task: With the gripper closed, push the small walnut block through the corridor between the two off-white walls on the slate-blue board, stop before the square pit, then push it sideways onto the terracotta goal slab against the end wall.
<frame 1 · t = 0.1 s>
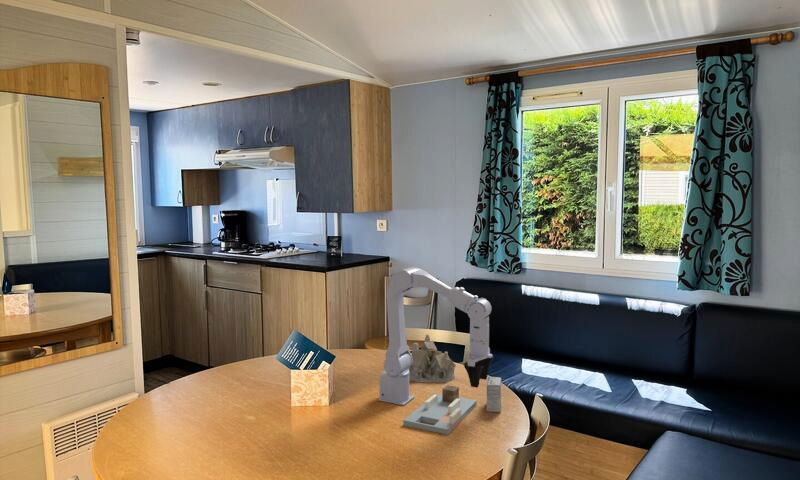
hand: (478, 382, 170), 10 cm above the table, tool pointing down, fingers open, 7 cm apart
deck: (441, 414, 171), on the table
block: (450, 400, 178), point 2 cm above the table, touching deck
medicine box: (494, 408, 177), on the table
ceramic cottage: (429, 377, 205), on the table
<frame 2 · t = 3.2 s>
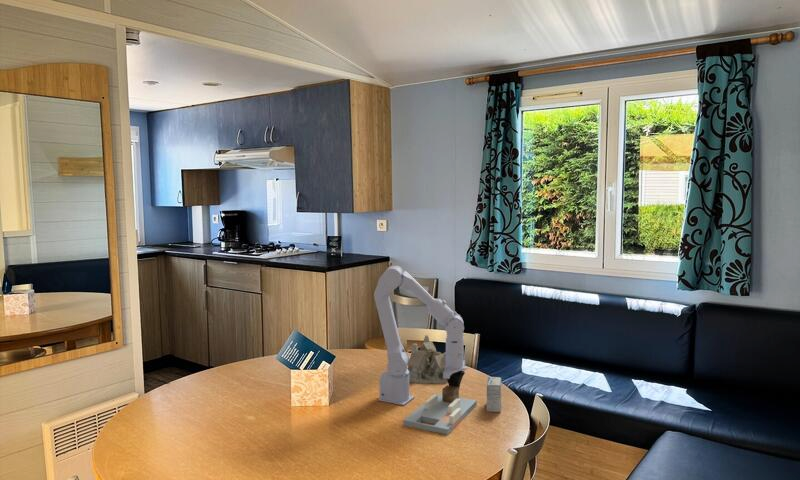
hand: (454, 393, 181), 3 cm above the table, tool pointing down, fingers closed
block: (450, 400, 178), point 2 cm above the table, touching deck, gripper
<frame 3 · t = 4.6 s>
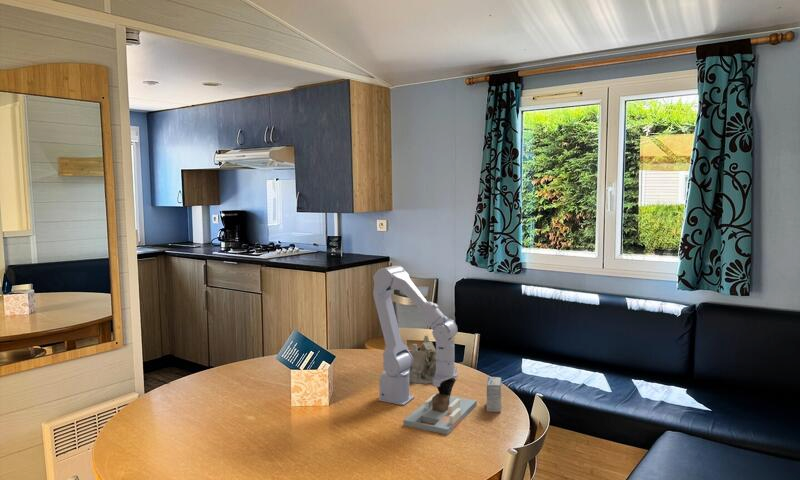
hand: (445, 401, 174), 3 cm above the table, tool pointing down, fingers closed
block: (440, 409, 171), point 2 cm above the table, touching gripper
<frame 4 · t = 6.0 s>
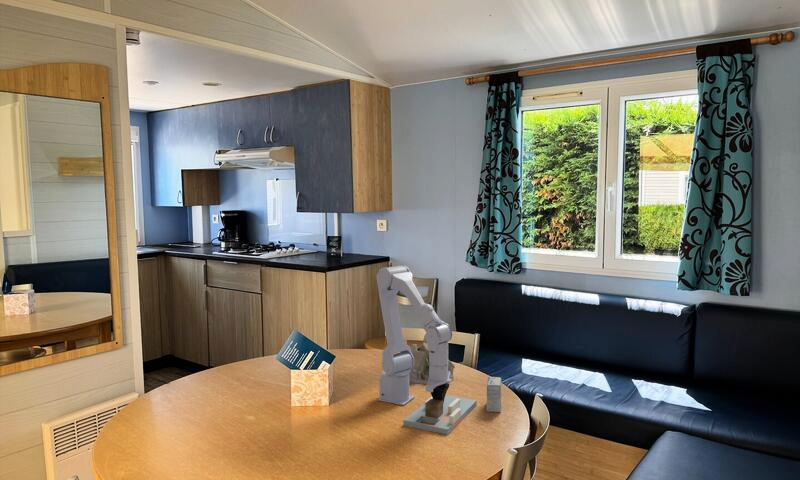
hand: (438, 407, 170), 3 cm above the table, tool pointing down, fingers closed
block: (434, 414, 167), point 2 cm above the table, touching deck, gripper
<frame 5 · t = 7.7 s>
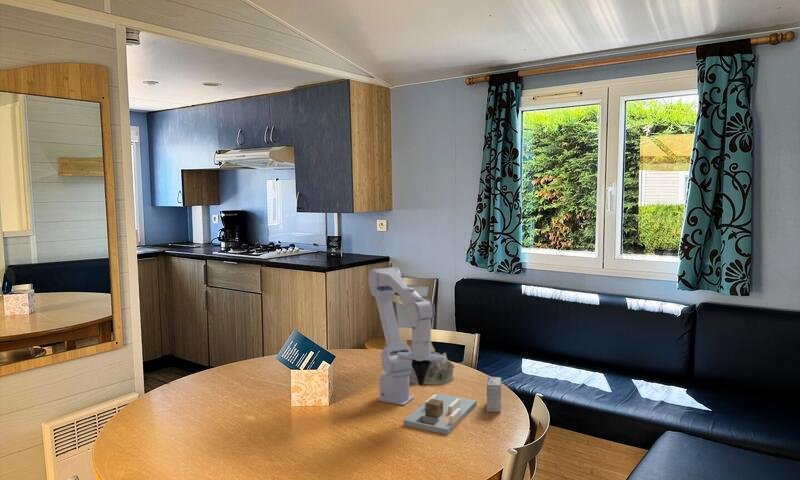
hand: (421, 384, 169), 10 cm above the table, tool pointing down, fingers closed
block: (434, 414, 167), point 2 cm above the table, touching deck
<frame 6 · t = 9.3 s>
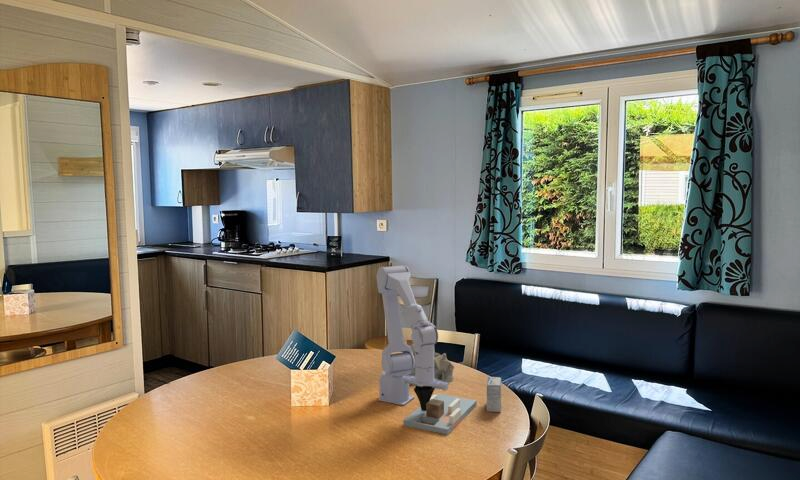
hand: (424, 409, 168), 3 cm above the table, tool pointing down, fingers closed
block: (435, 415, 167), point 2 cm above the table, touching gripper
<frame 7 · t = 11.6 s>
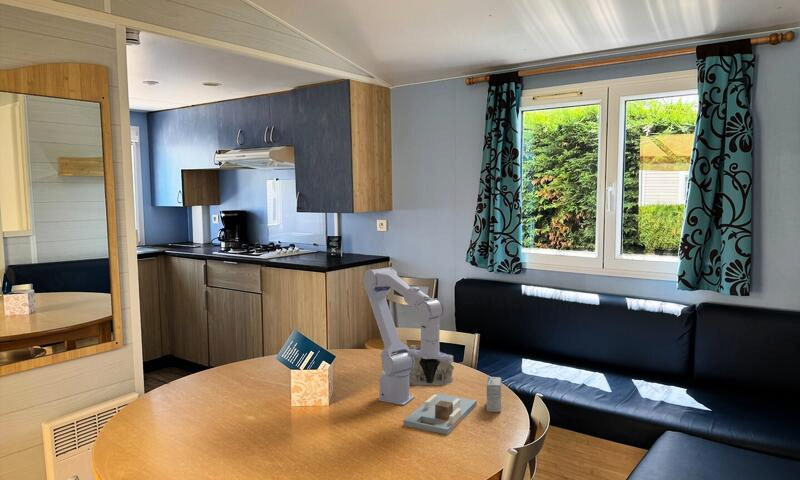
hand: (429, 382, 171), 10 cm above the table, tool pointing down, fingers closed
block: (443, 416, 165), point 2 cm above the table, touching deck
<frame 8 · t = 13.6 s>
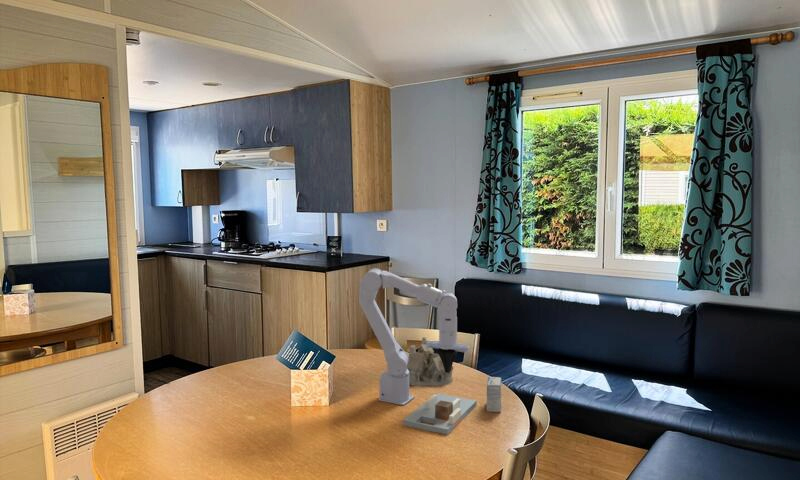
hand: (447, 371, 181), 10 cm above the table, tool pointing down, fingers closed
at the end: block 1.3 cm from the target spot, point 1.6 cm above the table; block tilted 0° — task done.
